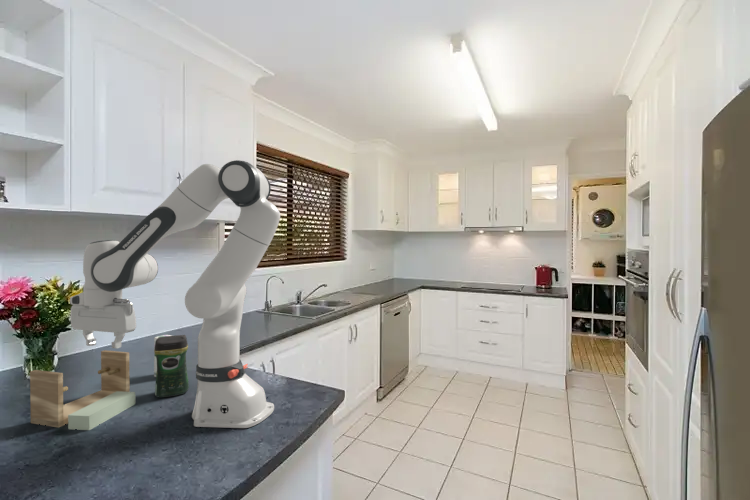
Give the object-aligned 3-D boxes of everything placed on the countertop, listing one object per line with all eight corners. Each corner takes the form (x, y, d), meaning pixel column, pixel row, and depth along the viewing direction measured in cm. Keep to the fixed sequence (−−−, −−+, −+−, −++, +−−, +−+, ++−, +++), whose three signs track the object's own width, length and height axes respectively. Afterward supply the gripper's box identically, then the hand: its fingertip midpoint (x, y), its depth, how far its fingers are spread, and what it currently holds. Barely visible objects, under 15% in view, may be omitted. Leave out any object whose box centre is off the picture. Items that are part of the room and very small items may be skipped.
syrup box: (153, 376, 135) (152, 337, 135) (168, 371, 140) (168, 333, 140) (162, 379, 132) (162, 339, 132) (178, 374, 138) (178, 335, 137)
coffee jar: (189, 386, 126) (189, 332, 125) (187, 395, 118) (187, 337, 118) (156, 391, 122) (156, 334, 121) (152, 400, 114) (152, 340, 114)
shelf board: (117, 404, 112) (116, 391, 112) (135, 405, 112) (135, 391, 112) (68, 430, 96) (68, 415, 96) (89, 431, 96) (89, 416, 96)
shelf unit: (105, 393, 120) (104, 350, 120) (129, 396, 117) (129, 352, 117) (30, 423, 100) (30, 371, 100) (58, 427, 97) (57, 374, 97)
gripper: (142, 297, 104) (142, 346, 104) (88, 295, 110) (88, 341, 110) (121, 300, 98) (121, 352, 98) (65, 297, 104) (65, 346, 104)
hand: (103, 346), depth 104 cm, fingers open, 8 cm apart
